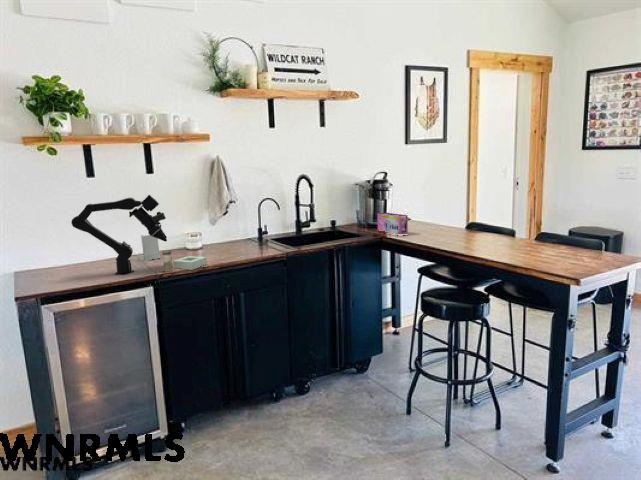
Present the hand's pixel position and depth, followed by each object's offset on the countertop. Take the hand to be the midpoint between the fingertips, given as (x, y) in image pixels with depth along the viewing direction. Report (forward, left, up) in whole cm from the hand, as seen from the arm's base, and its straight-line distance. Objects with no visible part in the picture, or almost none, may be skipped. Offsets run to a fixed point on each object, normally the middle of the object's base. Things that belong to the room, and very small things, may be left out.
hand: (166, 239), depth 253 cm
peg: (-5, -4, -15) cm, 16 cm away
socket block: (+6, -9, -15) cm, 19 cm away
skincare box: (+15, +26, -15) cm, 34 cm away
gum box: (+123, -85, -16) cm, 151 cm away
